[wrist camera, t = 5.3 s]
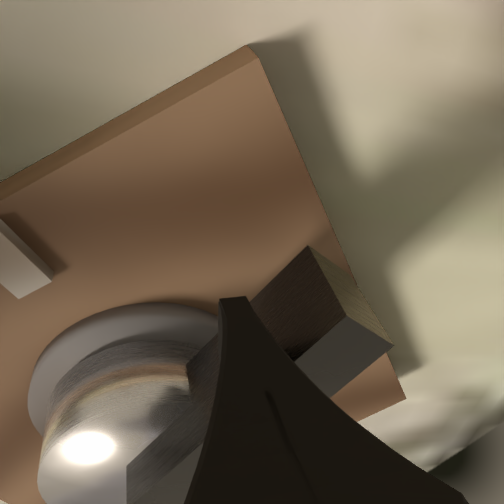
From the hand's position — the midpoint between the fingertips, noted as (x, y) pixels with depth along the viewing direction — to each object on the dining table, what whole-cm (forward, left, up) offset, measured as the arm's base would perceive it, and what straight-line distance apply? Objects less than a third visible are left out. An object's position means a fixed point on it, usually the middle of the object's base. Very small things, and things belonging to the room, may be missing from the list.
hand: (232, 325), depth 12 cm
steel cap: (-3, +3, -3) cm, 5 cm away
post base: (-4, +5, -5) cm, 9 cm away
